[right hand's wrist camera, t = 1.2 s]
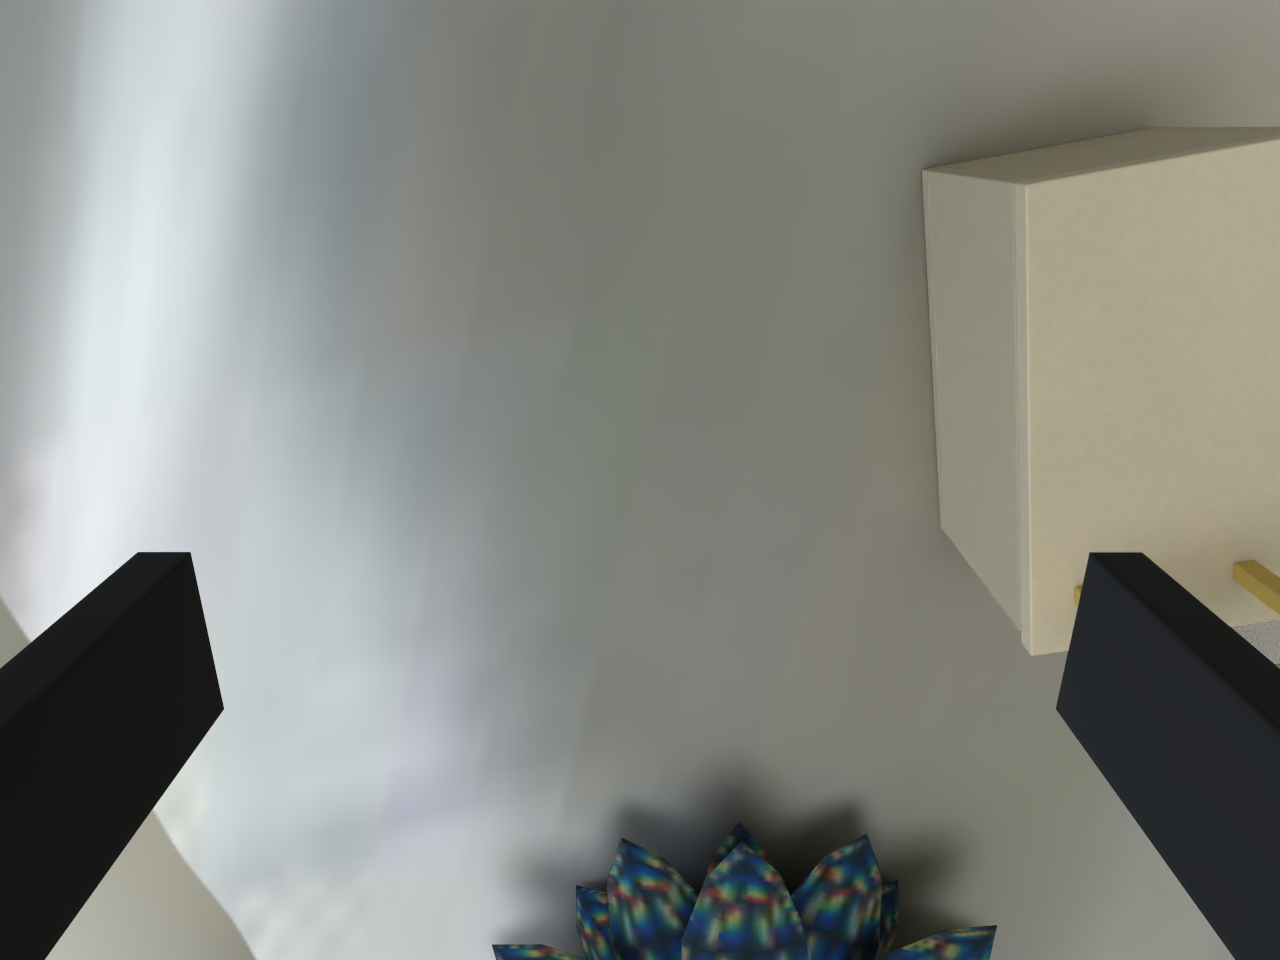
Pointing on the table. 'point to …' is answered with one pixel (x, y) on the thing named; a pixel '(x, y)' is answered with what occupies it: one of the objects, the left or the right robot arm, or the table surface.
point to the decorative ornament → (749, 912)
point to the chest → (1000, 331)
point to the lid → (1150, 380)
